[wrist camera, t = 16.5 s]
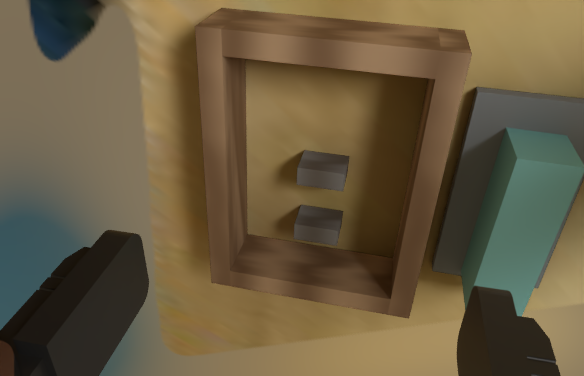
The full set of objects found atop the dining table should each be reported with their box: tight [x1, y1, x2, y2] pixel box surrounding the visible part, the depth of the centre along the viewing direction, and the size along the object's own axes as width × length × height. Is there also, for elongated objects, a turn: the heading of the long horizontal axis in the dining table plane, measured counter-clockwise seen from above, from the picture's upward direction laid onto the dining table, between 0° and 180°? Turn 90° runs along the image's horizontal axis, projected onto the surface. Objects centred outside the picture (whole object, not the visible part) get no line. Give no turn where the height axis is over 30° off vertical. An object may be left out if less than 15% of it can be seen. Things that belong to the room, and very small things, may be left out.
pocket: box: [195, 8, 472, 318], centre depth 40 cm, size 18×23×5 cm
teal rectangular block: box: [461, 127, 584, 317], centre depth 38 cm, size 4×14×5 cm, turn 177°
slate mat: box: [432, 87, 584, 288], centre depth 40 cm, size 9×17×1 cm, turn 178°
